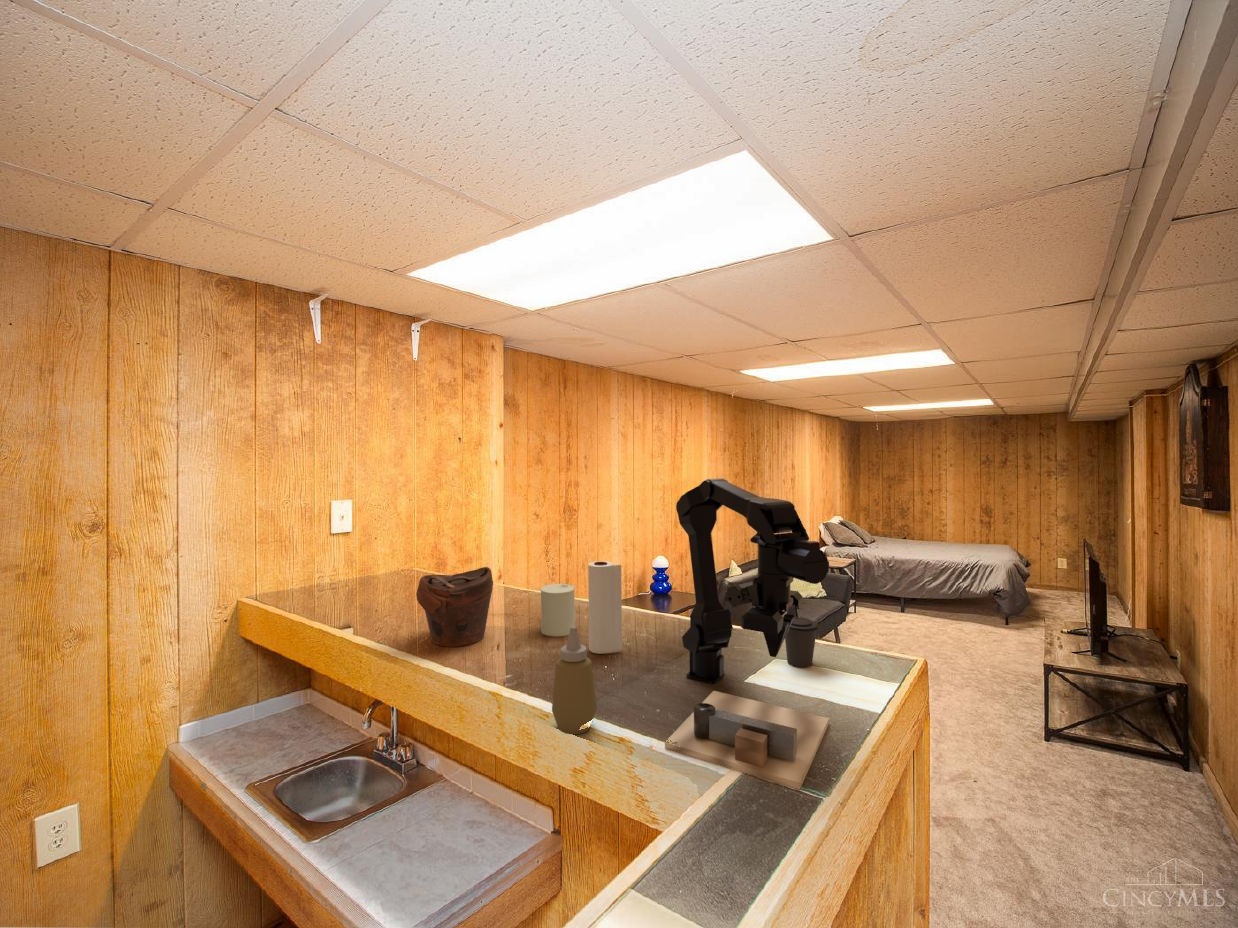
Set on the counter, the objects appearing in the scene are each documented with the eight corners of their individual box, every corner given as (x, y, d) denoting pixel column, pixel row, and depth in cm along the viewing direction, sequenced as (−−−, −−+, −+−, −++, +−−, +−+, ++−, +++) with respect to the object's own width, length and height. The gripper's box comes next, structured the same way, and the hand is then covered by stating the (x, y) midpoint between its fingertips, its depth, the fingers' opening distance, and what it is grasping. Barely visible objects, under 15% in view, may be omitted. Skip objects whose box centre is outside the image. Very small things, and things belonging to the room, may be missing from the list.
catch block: (735, 759, 89) (735, 734, 89) (740, 752, 91) (740, 728, 91) (762, 768, 87) (762, 742, 86) (767, 760, 89) (767, 735, 89)
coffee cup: (773, 660, 131) (773, 617, 130) (799, 654, 134) (800, 612, 134) (799, 673, 123) (800, 628, 123) (826, 666, 127) (826, 622, 127)
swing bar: (690, 735, 95) (690, 710, 95) (698, 726, 98) (698, 701, 98) (792, 763, 87) (792, 735, 87) (797, 751, 90) (797, 724, 90)
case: (400, 643, 143) (400, 573, 142) (463, 622, 159) (462, 559, 158) (448, 659, 133) (447, 584, 132) (508, 635, 149) (509, 568, 148)
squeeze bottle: (602, 734, 98) (601, 633, 98) (556, 742, 96) (554, 638, 95) (591, 713, 106) (590, 618, 105) (548, 719, 104) (547, 623, 103)
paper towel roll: (583, 649, 138) (583, 562, 137) (603, 643, 142) (602, 559, 141) (602, 658, 132) (601, 568, 131) (622, 651, 136) (621, 564, 135)
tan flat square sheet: (664, 748, 94) (664, 742, 94) (713, 695, 113) (713, 690, 113) (799, 789, 83) (799, 783, 83) (828, 723, 102) (829, 718, 102)
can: (582, 628, 153) (581, 584, 152) (561, 639, 145) (560, 593, 145) (555, 622, 158) (555, 580, 157) (533, 632, 150) (533, 588, 150)
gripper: (746, 556, 114) (746, 633, 114) (712, 576, 98) (712, 665, 98) (803, 562, 108) (802, 643, 109) (777, 585, 92) (776, 679, 93)
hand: (773, 656), depth 102 cm, fingers closed
